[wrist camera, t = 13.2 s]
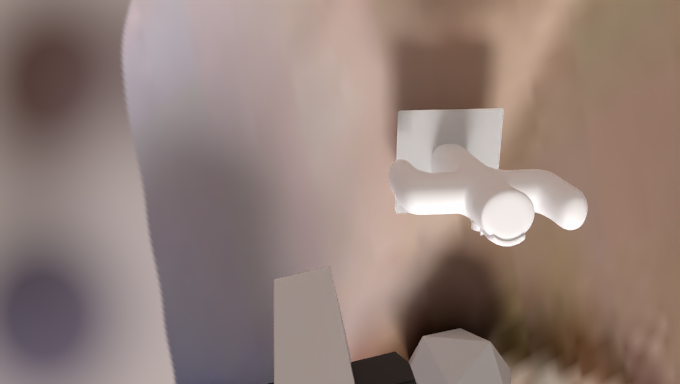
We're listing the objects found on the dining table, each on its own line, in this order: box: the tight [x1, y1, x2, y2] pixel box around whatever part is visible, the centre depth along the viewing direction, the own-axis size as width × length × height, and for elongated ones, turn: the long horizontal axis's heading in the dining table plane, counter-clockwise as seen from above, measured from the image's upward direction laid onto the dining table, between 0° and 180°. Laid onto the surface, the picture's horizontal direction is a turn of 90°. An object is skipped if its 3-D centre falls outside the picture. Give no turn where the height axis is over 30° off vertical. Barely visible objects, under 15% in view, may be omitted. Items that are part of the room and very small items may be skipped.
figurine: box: [389, 108, 587, 246], centre depth 38 cm, size 7×9×15 cm
